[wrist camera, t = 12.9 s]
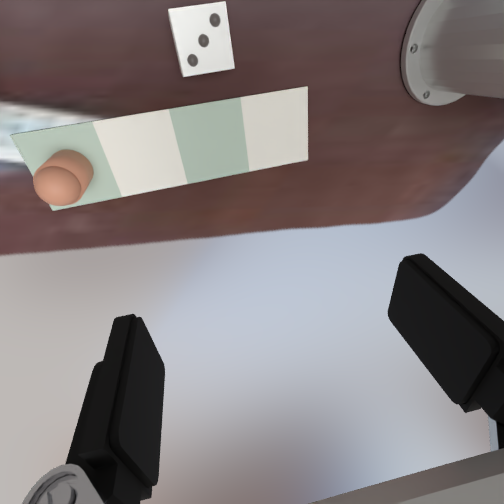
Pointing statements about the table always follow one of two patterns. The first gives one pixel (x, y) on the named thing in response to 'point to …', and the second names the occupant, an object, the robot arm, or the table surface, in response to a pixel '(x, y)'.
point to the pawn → (63, 178)
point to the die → (202, 38)
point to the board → (179, 143)
